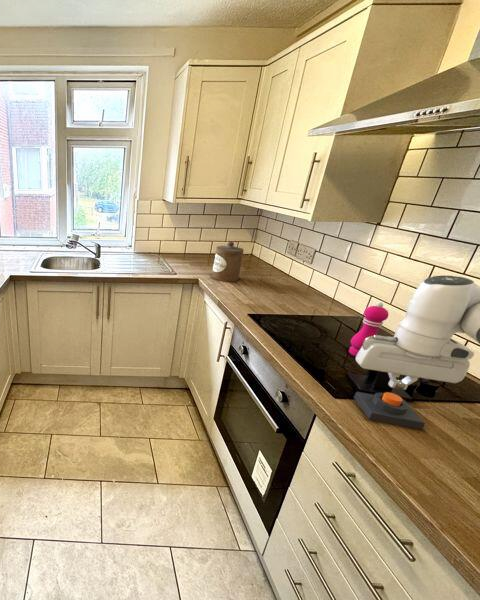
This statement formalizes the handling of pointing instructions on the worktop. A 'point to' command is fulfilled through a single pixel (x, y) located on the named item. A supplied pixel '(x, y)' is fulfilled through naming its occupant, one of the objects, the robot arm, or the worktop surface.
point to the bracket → (376, 384)
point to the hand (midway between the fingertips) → (396, 387)
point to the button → (392, 399)
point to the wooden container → (227, 262)
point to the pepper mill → (368, 326)
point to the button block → (388, 411)
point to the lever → (424, 380)
